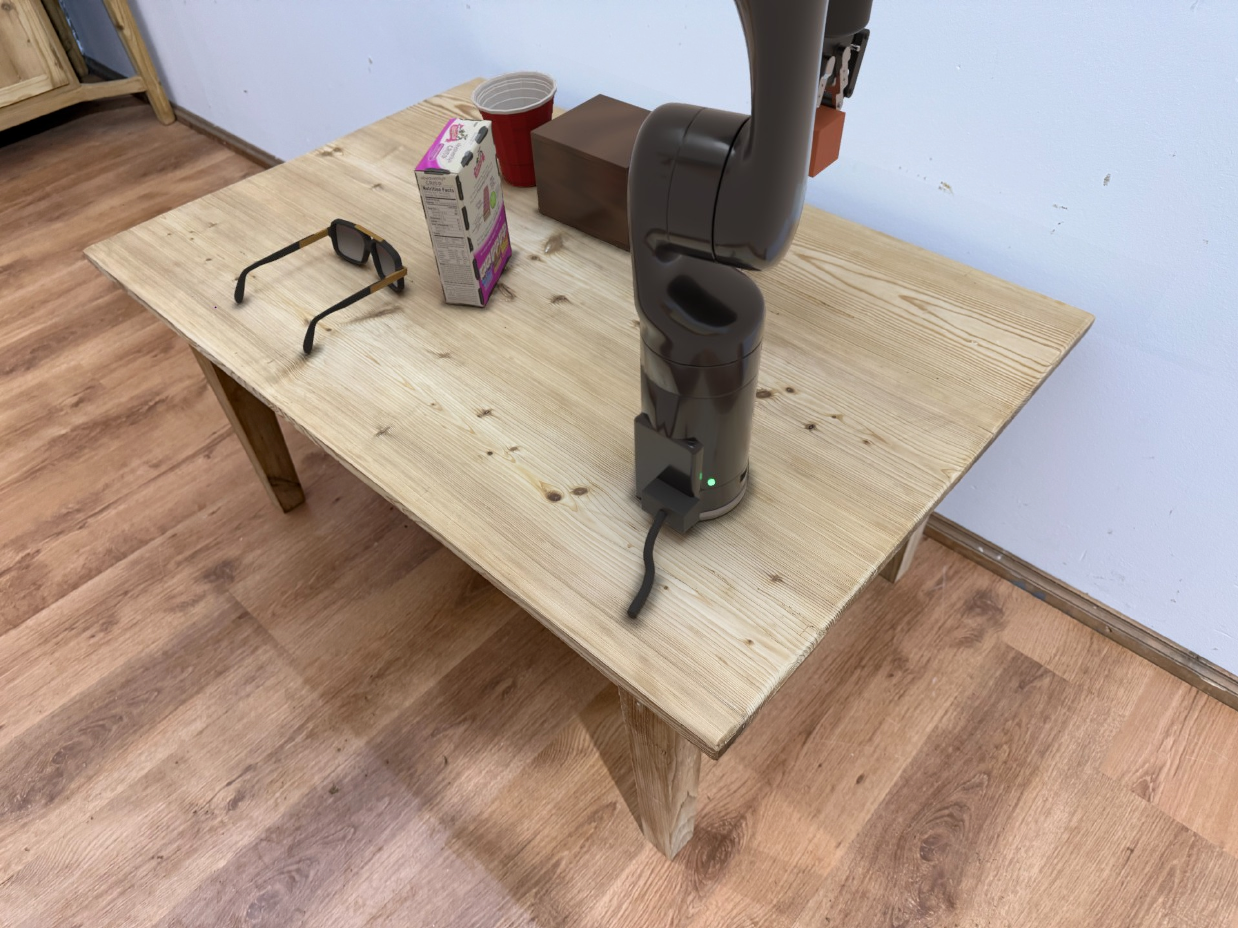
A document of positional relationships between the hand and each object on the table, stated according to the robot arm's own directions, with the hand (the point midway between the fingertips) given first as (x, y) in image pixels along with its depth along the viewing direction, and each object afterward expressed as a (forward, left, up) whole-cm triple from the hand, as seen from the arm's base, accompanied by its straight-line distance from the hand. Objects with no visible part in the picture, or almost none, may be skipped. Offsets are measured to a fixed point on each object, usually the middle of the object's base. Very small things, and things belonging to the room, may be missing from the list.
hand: (805, 157), depth 82 cm
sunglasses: (-31, +41, -17) cm, 54 cm away
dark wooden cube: (+3, +27, -16) cm, 32 cm away
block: (0, 0, 0) cm, 0 cm away
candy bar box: (-18, +30, -17) cm, 39 cm away
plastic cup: (+2, +42, -17) cm, 45 cm away
